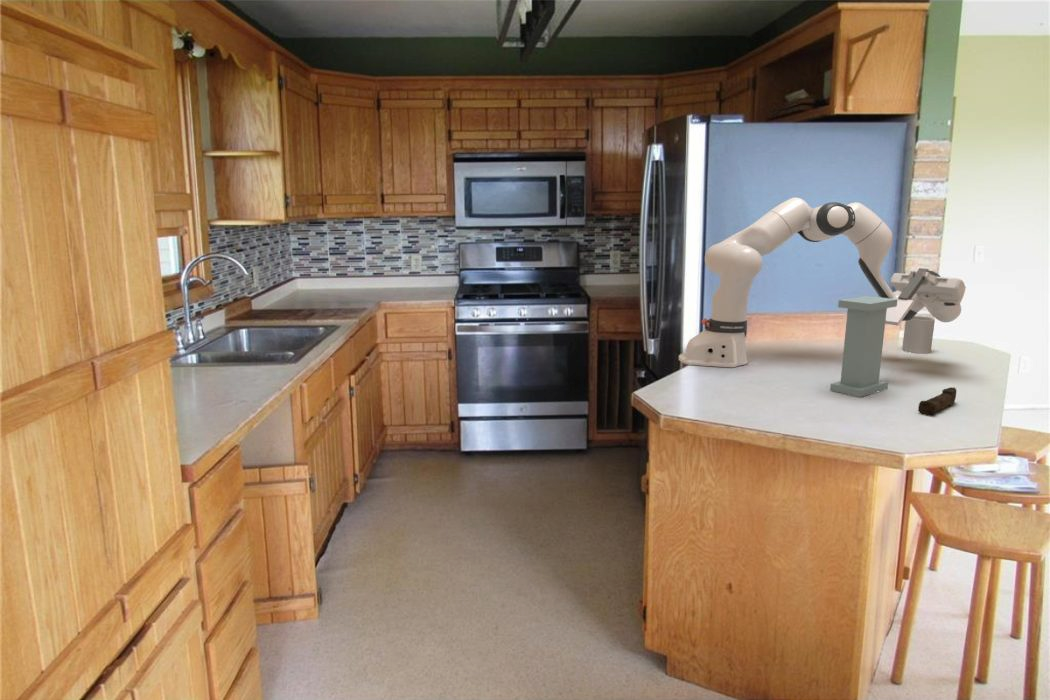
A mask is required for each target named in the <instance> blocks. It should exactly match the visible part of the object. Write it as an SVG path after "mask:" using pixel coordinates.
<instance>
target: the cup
mask: <svg viewBox="0 0 1050 700" xmlns="http://www.w3.org/2000/svg"><path fill="white" fill-rule="evenodd" d="M935 320H936V318H935V317H929V316H921V315H920V316H917V315H915V316H914V317H913V318H912V319H911V320H907V321H904V331H903V339H902V347H901V351H902V350H903V351H902V352H905V351H907V352H906V353H909V352H911V353H910V354H917V355H919V354H920V355H929V354H931V352H932V347H933V345H932V344H933V337H934V331H935V330H934V329H935Z"/></svg>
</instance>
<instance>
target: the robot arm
mask: <svg viewBox="0 0 1050 700" xmlns="http://www.w3.org/2000/svg"><path fill="white" fill-rule="evenodd" d="M796 234H798V235H799V236H800V237H801V238H802V239H803V240H805V241H807V242H812V243H818V242H822V241H825V240H829V239H832V238H834V237H836V236H839V235H841V234H842V235H843V236H846V237H847V238H848V239H849V241H850V242H851V243H852V244H853V245H854V246H855V248H856V249H857V250H858V253H859V258H858V265H859V267H860V270H861V271H862V272H863V274H864V276H865V278H866V279H867V281H868V282H869V283H870V285H871V286H872V288H873V289H874V290H875V292H876V294H877V295H878V297H881V298H889V299H893V298H896V299H899V298H898V297H899V296H900V294H901V293H902V291H903V290H904V289H905V287H906V286H907V285H908V283H909V282H910V281H911V279H912V278H913V276H914V275H915V274H916V272H917V271H915V270H909V271H908V273H899V272H895V273H893V274H892V276H891V278H890V281H889V283H890V285H891V286H892V287H893V288H894V289H895V291H893V290H892V289H891V288H890V287H889V284H888V283H887V282H886V280H885V279H884V278H883V276H882V273H881V268H882V264H883V262H884V260H885V258H886V257H887V255H888V253H889V251H890V249H891V248H892V244H893V232H892V230H891V229H890V228H889V226H888V225H887V224H886V222H884V220H882V218H880V216H878V214H877V213H875V212H874V211H872V210H871V209H870V208H868V207H867V206H866V205H864V204H863V203H860V202H858V201H856V202H855V201H854V202H851V203H848V204H847V205H845V204H843V203H841V202H838V201H837V202H836V201H835V202H831V201H830V202H827V203H824V204H823V205H820V206H816V207H811V206H810V205H809V204H808V203H807V201H805V200H804V199H803V198H800V197H791V198H789V199H787V200H785V201H783V202H781V203H780V204H778V205H776V206H775V207H773V208H772V209H770V210H769V211H768V212H766V213H765V214H764V215H763V216H761V217H760V218H758V219H757V220H756V221H754V222H753V223H752V224H751V225H749V226H747V227H745V228H744V229H742V230H740V231H738V232H736V233H734V234H733V235H730V236H729V237H727V238H726V239H724V240H722V241H721V242H718V243H716V244H715V243H714V244H713V245H711V246H710V247H708V249H707V250H706V252H705V256H704V262H705V265H706V267H707V269H708V270H710V271H711V272H712V273H713V274H715V275H717V276H721V277H720V280H719V284H718V287H717V288H716V291H715V292H714V293H713V295H712V301H711V303H712V304H711V318H709V319H707V318H706V317H705V318H703V319H701V323H702V324H703V325H704V329H703V331H701V332H699V333H698V334H697V335H694V337H692V338H690V339H689V341H688V342H687V344H686V348H685V352H682V353H680V354H679V355H678V361H680V362H681V363H682V364H685V365H687V366H689V365H690V366H701V367H702V366H703V367H704V366H705V367H720V368H736V367H738V366H743V365H747V364H748V363H749V360H748V356H747V355H748V354H747V347H746V344H747V343H746V338H747V334H748V320H747V308H748V300H749V294H750V291H751V288H752V285H753V282H754V280H755V278H756V277H757V276H758V275H759V273H761V270H762V269H763V268H762V267H763V258H762V256H766V255H769V254H771V253H773V252H774V251H775V250H776V249H778V248H779V247H780V246H782V245H784V244H785V243H786V242H787V241H789V240H790V239H791V238H792V237H793V236H794V235H796ZM922 278H923V279H925V280H924V282H923V283H922V285H921V286H920V287H919V289H918V290H917V291H916V293H915V294H914V296H913V297H912V298H911V300H913V301H914V304H913V306H912V307H911V309H910V310H909V311H908V313H907V314H906V316H905V317H904V318H903V320H902V321H901V322H905V321H907V320H911V319H912V318H913V317H914V316H917V314H918V313H919V312H920V311H921V310H923V309H924V308H925V309H926V310H927V311H928V312H929V314H930V315H931V316H932V318H934V319H935V320H937V321H939V322H940V323H950V322H953V321H955V320H956V319H958V317H960V315H961V312H962V306H961V303H962V301H963V298H964V295H965V292H966V288H967V287H966V285H965V282H964V281H963V280H962V279H960V278H958V277H957V278H956V277H947V276H946V277H945V276H941V275H940V274H938V273H937V272H935V271H933V270H929V272H923V274H922Z"/></svg>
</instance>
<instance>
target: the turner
mask: <svg viewBox="0 0 1050 700" xmlns="http://www.w3.org/2000/svg"><path fill="white" fill-rule="evenodd" d="M929 271H930V269H929V268H921V267H919V268H918V269H917V271H915V272H916V274H915V275H914V276H913V278H912V279H911V281H910V282H909V283H908V285H907V286H906V287H905V289H904V290H903V291H902V293H901V294H900V296H899V297H898V298H899V299H898V300H897V307H891V308H887V311H886V320H885V325H891V326H892V325H893V326H900V324H901V322H903V321H902V320H903V318H904V317H905V316H906V314H907V313H908V311H909V310H910V309H911V307H912V306H913V304H914V301H913V300H911V298H912V297H913V296H914V294H915V293H916V291H917V290H918V289H919V287H920V286H921V285H922V283H923V282H924V280H925V279H923V278H922V274H923V272H929ZM893 299H896V298H893Z"/></svg>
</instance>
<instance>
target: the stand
mask: <svg viewBox="0 0 1050 700" xmlns="http://www.w3.org/2000/svg"><path fill="white" fill-rule="evenodd" d="M897 300H898V299H889V298H881V297H879V296H869V295H864V296H862V295H861V296H857V297H856V296H855V297H851V298H844V299H838V302H837V303H838V305H837V307H838V308H842V309H847V313H846V323H845V333H844V334H845V335H844V340H843V341H844V342H843V353H842V363H841V364H842V365H841V373H840V375H841V376H840V380H839V381H837V382H836V381H835V382H833V383H830V387H829V391H830V390H832V391H831V392H834V391H837V392H836V393H838V392H841V393H840V394H843V393H846V394H845V395H847V394H850V395H849V396H852V395H854V396H853V397H856V396H859V397H858V398H860V397H861V398H863V397H862V396H864V397H866V396H865V395H867V396H869V395H868V394H870V395H872V394H871V393H873V394H875V393H874V392H877V391H880V392H882V391H881V390H883V391H885V390H884V389H886V390H888V388H889V387H888V386H889V382H888V381H884V380H880V374H881V365H882V357H883V356H882V355H883V346H884V337H885V327H886V324H885V320H886V311H887V308H891V307H897ZM877 393H878V392H877Z"/></svg>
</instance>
